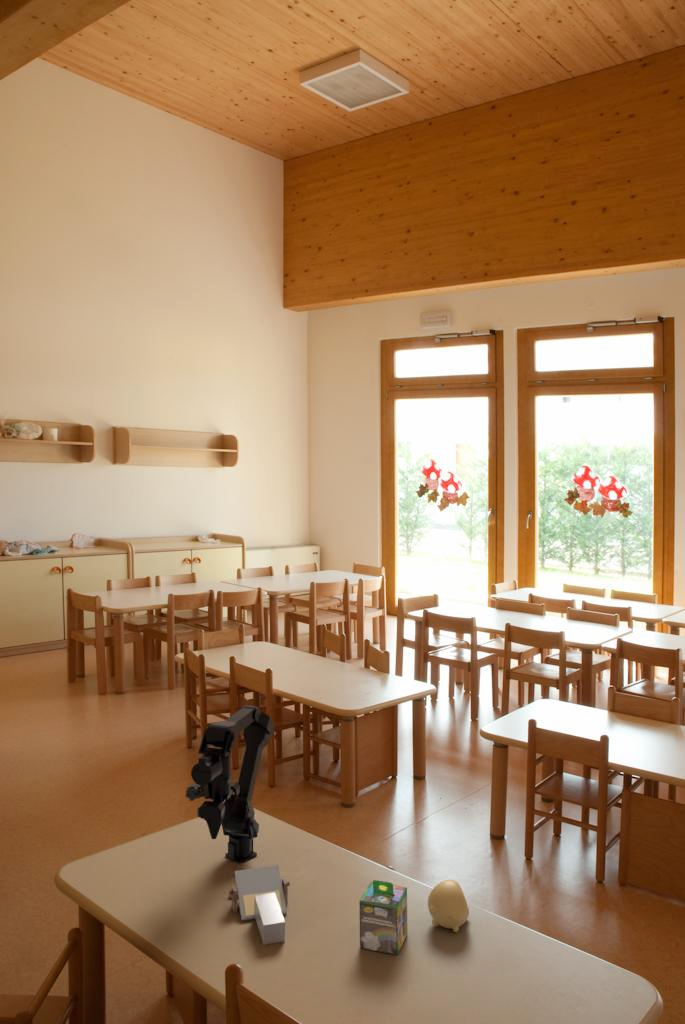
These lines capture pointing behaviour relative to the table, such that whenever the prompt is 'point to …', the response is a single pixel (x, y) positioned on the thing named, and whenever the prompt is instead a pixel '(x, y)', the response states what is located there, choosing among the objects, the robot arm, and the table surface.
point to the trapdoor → (258, 888)
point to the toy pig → (448, 905)
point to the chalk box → (383, 917)
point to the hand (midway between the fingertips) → (219, 831)
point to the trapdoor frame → (234, 894)
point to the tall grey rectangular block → (269, 918)
